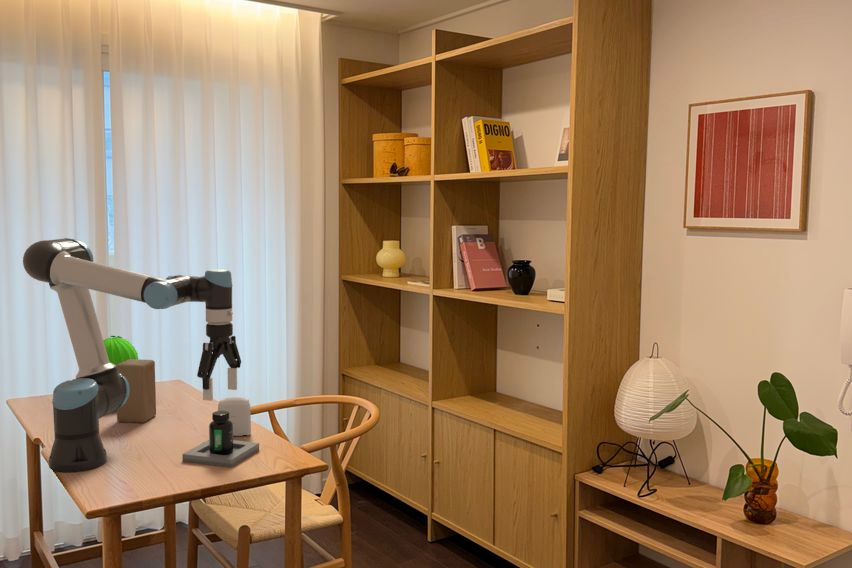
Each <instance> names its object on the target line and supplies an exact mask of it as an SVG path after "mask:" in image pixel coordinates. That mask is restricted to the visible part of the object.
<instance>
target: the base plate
mask: <svg viewBox="0 0 852 568" xmlns="http://www.w3.org/2000/svg"><path fill="white" fill-rule="evenodd" d="M259 451H260V443H259V442H253V441H243V440H236V439H233V452H232V453H230V454H228V455H217V454H211V453H210V448H209V439H208V440H206V441H204V442H203V443H201V444H199V445H197V446H194V447H193V448H191V449H189V450H187V451H185V452H183V453H182V457H181V458H182V462H186V463H193V464H202V465H210V466H218V467H225V468H233V467H234V466H236V465H238V464H239V463H241V462H242V461H244V460H245V459H247V458H249V457H251V456H252V455H254V454H255V453H257V452H259Z"/></svg>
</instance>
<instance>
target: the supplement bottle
mask: <svg viewBox="0 0 852 568" xmlns="http://www.w3.org/2000/svg"><path fill="white" fill-rule="evenodd" d="M211 415H212V417H211V419H212V421H211V422H210V423H209V425H208V435H209V436H208V437H209V439H208V440H209V448H210V453H211V454H217V455H228V454H230V453H232V452H233V440H234V436H233V423H232V422H231V421H230V420H229V412H228V411H218V410H216V411H213V412H212V414H211Z"/></svg>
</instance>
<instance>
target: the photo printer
mask: <svg viewBox="0 0 852 568" xmlns="http://www.w3.org/2000/svg"><path fill="white" fill-rule="evenodd" d="M217 411H228V412H229V420H230V421H231V422H232V423H233V437H240V436H241V437H242V436H243V435H247V436H250V435H251V434H252V426H251V425H252V421H251V418H252V417H251V416H252V415H251V414H252V413H251V404H250V400H249V399H248V398H246V397H239V396H238V397H237V396H232V397H225V398H223V399H220V400H219V401H218V405H217ZM249 434H250V435H249Z"/></svg>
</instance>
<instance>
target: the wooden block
mask: <svg viewBox="0 0 852 568" xmlns="http://www.w3.org/2000/svg"><path fill="white" fill-rule="evenodd" d="M155 363H156V362H155V360H153V359H139V358H138V359H129V360H126V361H124V362H122V363H119V364H117V365H116V367H117V371H118V373H120V374H121V375H122V376H124V377H125V378H126V379H127V381H128V383H129V387H130V393H129V397H128V399H127V401H126V403H125V404H124V405H123V406H122V407H120V408H119V409H118V410H116V421H117V422H119V423H134V422H136V423H138V424H141V423H142V424H143V423H146V422H147V421H149V420H151V419H152V418H154V417H155V416H156V414H157V399H156V398H157V393H156V391H157V390H156V364H155Z"/></svg>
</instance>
